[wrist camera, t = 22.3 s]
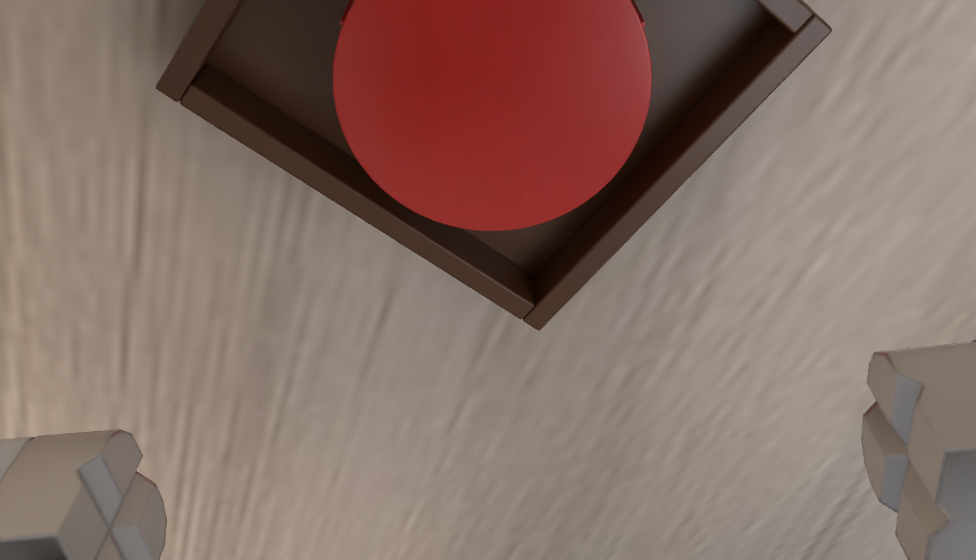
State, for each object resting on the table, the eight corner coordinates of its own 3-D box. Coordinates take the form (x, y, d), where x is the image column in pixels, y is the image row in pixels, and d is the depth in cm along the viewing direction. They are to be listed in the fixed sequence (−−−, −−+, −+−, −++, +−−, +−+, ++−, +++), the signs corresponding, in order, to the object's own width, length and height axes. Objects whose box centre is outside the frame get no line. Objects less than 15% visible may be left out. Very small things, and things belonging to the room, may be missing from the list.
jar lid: (284, 53, 21) (262, 92, 19) (493, -176, 19) (493, -161, 17) (490, 234, 24) (490, 285, 22) (698, 55, 21) (721, 93, 19)
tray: (806, 3, 21) (834, 30, 20) (535, 289, 26) (539, 332, 24) (418, -345, 18) (410, -350, 16) (180, 57, 22) (153, 88, 20)
